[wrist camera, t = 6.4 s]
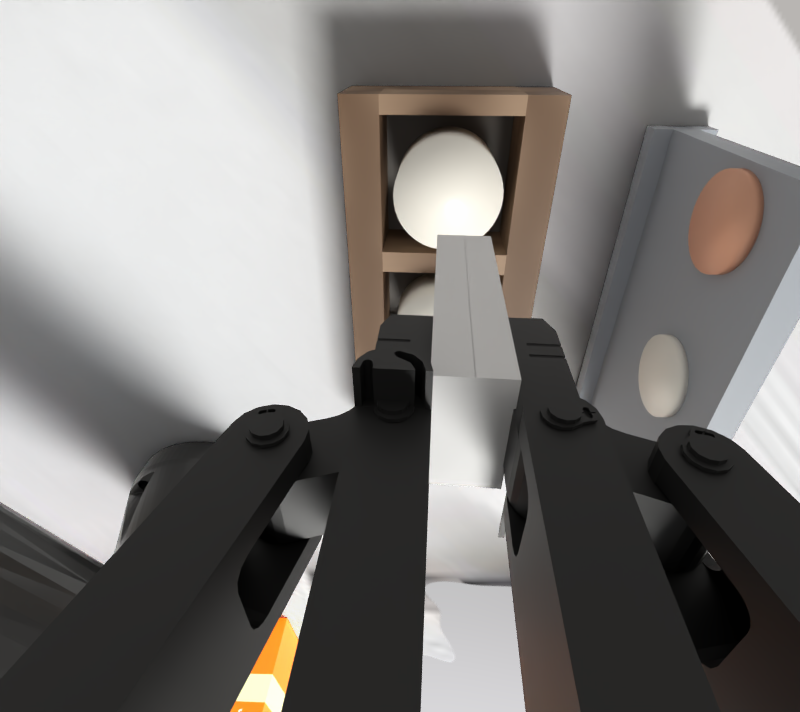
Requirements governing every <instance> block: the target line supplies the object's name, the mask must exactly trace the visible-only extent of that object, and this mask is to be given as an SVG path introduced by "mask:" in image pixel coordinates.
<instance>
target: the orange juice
mask: <svg viewBox="0 0 800 712" xmlns="http://www.w3.org/2000/svg"><path fill="white" fill-rule="evenodd" d="M297 643H298V638H297V636H296V634H295V632H294V630H293V628H292V626H291V624H290V623H289V621H288V619H287V618H279V620H278V622H277V624H276V626H275V628H274V630H273V631H272V633H271V635H270V637H269V639H268V641H267V643H266V645H265V647H264V649H263V650H262V652H261V654H260V656H259V658H258V660H257V662H256V664H255V666H254V668H253V670H252V671H251V673H250V675H249V677H248V679H247V681H246V683H245V685H244V687H243V689H242V690H241V692H240V694H239V696H238V698H237V700H236V702H235V704H234V706H233V708H232V710H231V711H230V712H281V710H282V706H283V701H284V697H285V693H286V689H287V685H288V681H289V677H290V672H291V668H292V664H293V660H294V656H295V652H296V648H297Z"/></svg>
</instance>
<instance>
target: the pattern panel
mask: <svg viewBox="0 0 800 712" xmlns="http://www.w3.org/2000/svg"><path fill="white" fill-rule="evenodd" d="M717 132H718V129H715V128H712V127H709V126H647V128H646V132H645V136H644V139H643V143H642V147H641V150H640V154H639V158H638V161H637V165H636V169H635V172H634V176H633V180H632V184H631V187H630V191H629V195H628V198H627V202H626V206H625V209H624V213H623V217H622V220H621V224H620V228H619V231H618V235H617V239H616V242H615V246H614V250H613V253H612V257H611V261H610V264H609V268H608V272H607V276H606V279H605V283H604V287H603V290H602V294H601V298H600V301H599V305H598V309H597V312H596V316H595V320H594V323H593V327H592V331H591V334H590V338H589V342H588V345H587V349H586V353H585V356H584V360H583V364H582V368H581V371H580V375H579V379H578V382H577V386H576V388H577V391H578V394H579V396H580V398H581V399H584V400H586V401H587V402H588V403H590V404H591V405H592V406H594V407H595V408H597V410H598V411H599V413H600V414H601V416H602V417H603V419H604V421H605V424H606V425H607V426H609V427H611V428H612V429H615V430H618V431H621V432H624V433H627V434H630V435H634V436H638V437H641V438H645V439H648V440H652V441H657V439H658V437H659V436H660V434H661V433H662V432H663V431H664V430H665V429H667V428H670V427H673V426H676V425H694V426H698V427H702V428H706V429H709V430H713V431H715V432H717V433H719V434H721V435H723V436H725V437H727V438H729V439H731V440H732V438H733V437H734V435H735V433H736V431H737V429H738V428H739V426H740V424H741V422H742V421H743V419H744V417H745V415H746V413H747V412H748V410H749V408H750V406H751V404H752V403H753V401H754V399H755V397H756V396H757V394H758V392H759V390H760V388H761V387H762V385H763V383H764V381H765V379H766V378H767V376H768V374H769V372H770V371H771V369H772V367H773V365H774V363H775V362H776V360H777V358H778V356H779V354H780V353H781V351H782V349H783V347H784V345H785V344H786V342H787V340H788V338H789V337H790V335H791V333H792V331H793V329H794V328H795V326H796V324H797V322H798V320H799V319H800V166H798V165H795V164H792V163H790V162H787V161H784V160H781V159H779V158H776V157H773V156H770V155H768V154H765V153H762V152H759V151H757V150H754V149H751V148H748V147H746V146H743V145H740V144H737V143H735V142H732V141H729V140H727V139H724V138H721V137H718V136H716V135H717Z"/></svg>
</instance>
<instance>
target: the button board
mask: <svg viewBox="0 0 800 712" xmlns="http://www.w3.org/2000/svg"><path fill="white" fill-rule="evenodd" d="M337 96H338V110H339V125H340V140H341V154H342V169H343V184H344V198H345V213H346V228H347V242H348V257H349V272H350V286H351V301H352V315H353V330H354V345H355V359H356V360H357V358H359V357H360V356H362V355H363V354H365V353H366V352H368V351H371V350H375V347H376V343H377V339H378V334H379V329H380V325H381V324H382V323H383V322H384V321H385V320H386V319H387V318H388V317H389V316H390V315H391V314H397V313H398V307H399V302H400V298H401V295H402V293H403V291H404V290H405V288H406V287H407V286H408V285H409V284H410V283H411V282H412V281H413V280H415V279H416V278H418V277H420V276H422V275H424V274H428V273H435V271H436V250H437V249H436V248H431V247H428V246H426V245H423V244H422V243H420V242H418V241H417V240H415V239H414V238H412V237H411V236H410V235H409V234H408V233H407V232H406V230H405V229H404V228H403V226H402V225H401V223H400V221H399V219H398V217H397V215H396V212H395V208H394V201H393V190H394V184H395V180H396V177H397V174H398V171H399V167H400V164H401V161H402V159H403V156H404V154H405V153H406V151H407V149H408V148H409V147H410V145H411V144H412V143H413V142H414V141H415V140H416V139H417V138H418V137H420V136H421V135H423V134H424V133H426V132H428V131H430V130H433V129H436V128H440V127H449V126H451V127H459V128H463V129H466V130H469V131H471V132H472V133H474V134H476V135H477V136H478V137H480V138H481V139H482V140H483V141H484V142H485V143H486V145H487V146H488V147H489V149H490V151H491V153H492V154H493V157H494V159H495V161H496V164H497V166H498V168H499V171H500V174H501V177H502V181H503V191H504V192H503V202H502V207H501V210H500V213H499V215H498V217H497V219H496V221H495V222H494V224H493V226H492V227H491V228H490V229H489V230H488V232H487V233H485V234H484V235H483V236H491V239H492V244H493V249H494V253H495V258H496V263H497V267H498V272H499V277H500V281H501V286H502V291H503V295H504V300H505V305H506V310H507V314H508V317H509V318H531V316H532V310H533V305H534V299H535V294H536V288H537V283H538V277H539V272H540V266H541V261H542V255H543V250H544V244H545V239H546V233H547V228H548V222H549V217H550V211H551V206H552V200H553V195H554V190H555V184H556V179H557V173H558V168H559V162H560V157H561V151H562V146H563V140H564V135H565V129H566V124H567V118H568V113H569V107H570V102H571V96H572V95H570V94H568V93H566V92H564V91H561V90H559V89H557V88H555V87H514V86H351V87H349V88H347V89H345V90H343V91H342V92H340V93H338V94H337Z"/></svg>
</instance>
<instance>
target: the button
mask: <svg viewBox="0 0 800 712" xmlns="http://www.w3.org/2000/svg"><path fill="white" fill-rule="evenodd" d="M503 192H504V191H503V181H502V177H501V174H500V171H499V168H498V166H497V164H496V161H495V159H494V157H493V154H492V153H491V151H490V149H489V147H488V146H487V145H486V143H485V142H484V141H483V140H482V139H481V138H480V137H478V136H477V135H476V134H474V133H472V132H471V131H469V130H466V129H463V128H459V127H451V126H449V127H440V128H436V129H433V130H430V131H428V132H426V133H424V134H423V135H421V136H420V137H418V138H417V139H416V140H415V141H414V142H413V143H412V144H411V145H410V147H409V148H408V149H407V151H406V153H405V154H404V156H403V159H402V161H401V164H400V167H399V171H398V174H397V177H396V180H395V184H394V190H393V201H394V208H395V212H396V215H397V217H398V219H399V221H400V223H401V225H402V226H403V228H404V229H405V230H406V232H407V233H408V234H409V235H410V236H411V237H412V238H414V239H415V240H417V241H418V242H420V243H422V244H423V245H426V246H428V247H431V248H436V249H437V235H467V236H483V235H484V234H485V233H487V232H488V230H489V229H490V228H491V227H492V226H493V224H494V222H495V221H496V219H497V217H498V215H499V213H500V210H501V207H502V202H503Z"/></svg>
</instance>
